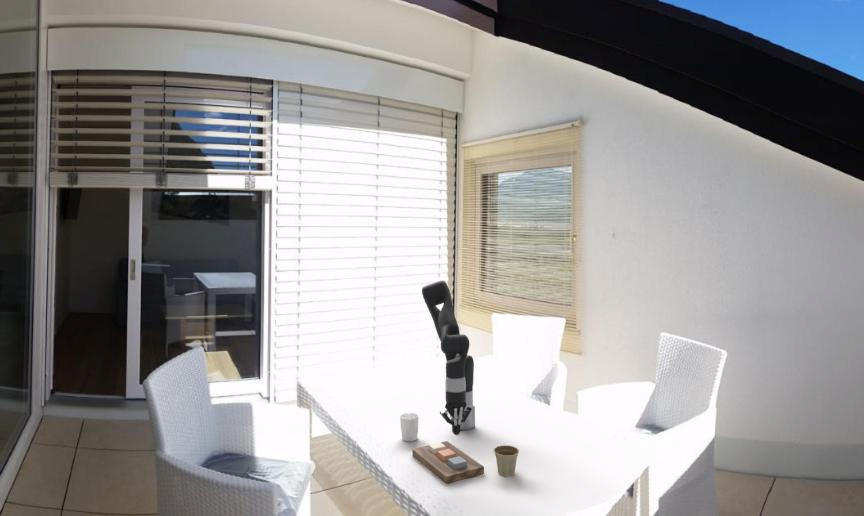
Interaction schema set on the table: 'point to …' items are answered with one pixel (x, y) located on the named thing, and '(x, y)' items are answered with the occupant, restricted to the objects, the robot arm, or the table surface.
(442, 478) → the button board
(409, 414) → the white cup
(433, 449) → the cream pad
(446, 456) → the terracotta pad
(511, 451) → the flower pot
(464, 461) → the grey pad
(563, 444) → the table surface
